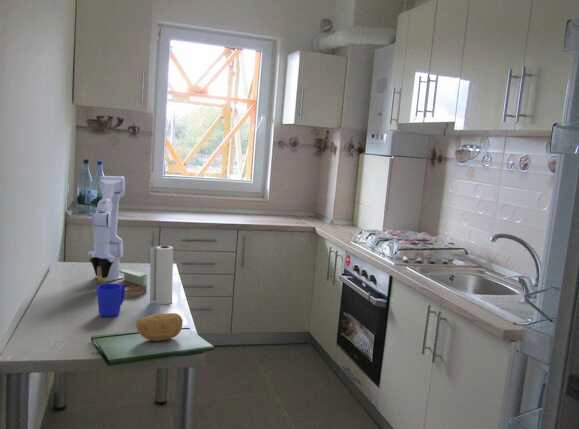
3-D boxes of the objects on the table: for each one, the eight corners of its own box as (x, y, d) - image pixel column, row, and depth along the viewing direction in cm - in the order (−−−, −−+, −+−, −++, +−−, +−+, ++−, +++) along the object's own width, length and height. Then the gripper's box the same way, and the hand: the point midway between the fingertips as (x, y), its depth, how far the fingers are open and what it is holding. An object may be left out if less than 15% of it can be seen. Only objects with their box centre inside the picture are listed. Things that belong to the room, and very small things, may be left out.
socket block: (101, 292, 213) (101, 285, 213) (127, 286, 223) (127, 279, 222) (121, 298, 206) (121, 291, 206) (146, 292, 216) (146, 285, 216)
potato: (134, 336, 170) (134, 311, 168) (179, 332, 175) (179, 308, 174) (137, 348, 161) (138, 322, 160) (185, 343, 166) (186, 318, 165)
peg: (95, 283, 216) (95, 266, 215) (103, 282, 219) (103, 265, 218) (100, 285, 214) (100, 268, 213) (108, 283, 217) (108, 266, 216)
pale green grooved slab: (119, 288, 220) (119, 270, 219) (127, 286, 223) (127, 268, 222) (138, 294, 213) (138, 275, 212) (146, 292, 216) (146, 274, 215)
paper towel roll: (175, 301, 206) (176, 246, 203) (165, 305, 201) (166, 249, 198) (160, 298, 209) (160, 244, 206) (149, 302, 204) (150, 246, 200)
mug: (133, 309, 195) (133, 282, 193) (111, 319, 183) (111, 291, 182) (113, 306, 197) (114, 279, 196) (91, 316, 186) (91, 287, 185)
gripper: (81, 241, 215) (81, 274, 217) (104, 247, 206) (104, 281, 208) (97, 239, 220) (97, 271, 222) (119, 244, 212) (119, 278, 214)
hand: (101, 276), depth 216 cm, fingers closed on peg, 3 cm apart
